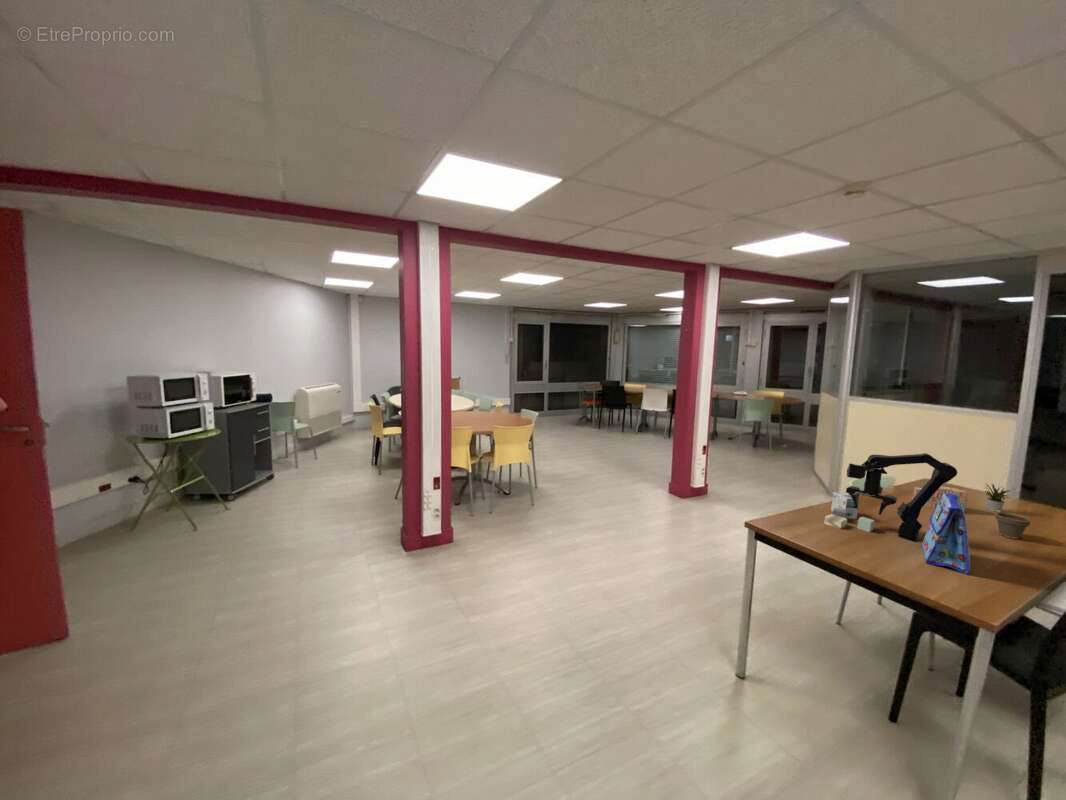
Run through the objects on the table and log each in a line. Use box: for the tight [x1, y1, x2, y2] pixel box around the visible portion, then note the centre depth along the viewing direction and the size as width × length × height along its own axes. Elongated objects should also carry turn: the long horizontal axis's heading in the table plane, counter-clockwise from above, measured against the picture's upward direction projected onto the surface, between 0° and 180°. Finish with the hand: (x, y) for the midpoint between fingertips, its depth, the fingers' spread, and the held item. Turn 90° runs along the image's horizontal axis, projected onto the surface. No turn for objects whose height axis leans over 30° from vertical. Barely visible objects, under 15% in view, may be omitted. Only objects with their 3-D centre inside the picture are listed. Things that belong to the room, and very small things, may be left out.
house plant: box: [983, 483, 1017, 511], centre depth 244 cm, size 14×14×16 cm
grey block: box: [832, 508, 846, 518], centre depth 219 cm, size 5×5×5 cm
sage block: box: [856, 516, 875, 533], centre depth 208 cm, size 5×5×5 cm
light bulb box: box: [830, 491, 860, 520], centre depth 225 cm, size 11×7×11 cm, turn 179°
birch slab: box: [824, 513, 848, 530], centre depth 211 cm, size 7×7×4 cm
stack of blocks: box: [911, 485, 969, 513], centre depth 244 cm, size 21×6×12 cm, turn 57°
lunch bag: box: [921, 493, 971, 575], centre depth 178 cm, size 22×14×29 cm, turn 141°
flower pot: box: [994, 512, 1031, 539], centre depth 208 cm, size 12×11×10 cm
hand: (868, 511), depth 207 cm, fingers open, 9 cm apart
